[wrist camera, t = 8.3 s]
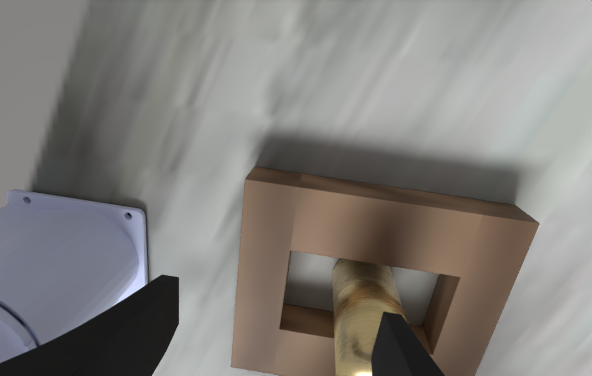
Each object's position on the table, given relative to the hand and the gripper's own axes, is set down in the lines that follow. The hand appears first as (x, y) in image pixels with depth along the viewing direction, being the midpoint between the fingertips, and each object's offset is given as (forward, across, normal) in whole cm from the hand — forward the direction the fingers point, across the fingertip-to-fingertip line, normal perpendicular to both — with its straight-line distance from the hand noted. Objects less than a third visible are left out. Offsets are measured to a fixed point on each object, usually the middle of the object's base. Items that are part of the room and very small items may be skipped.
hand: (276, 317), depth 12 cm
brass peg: (+10, -5, +5) cm, 12 cm away
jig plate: (+10, -5, +5) cm, 13 cm away
